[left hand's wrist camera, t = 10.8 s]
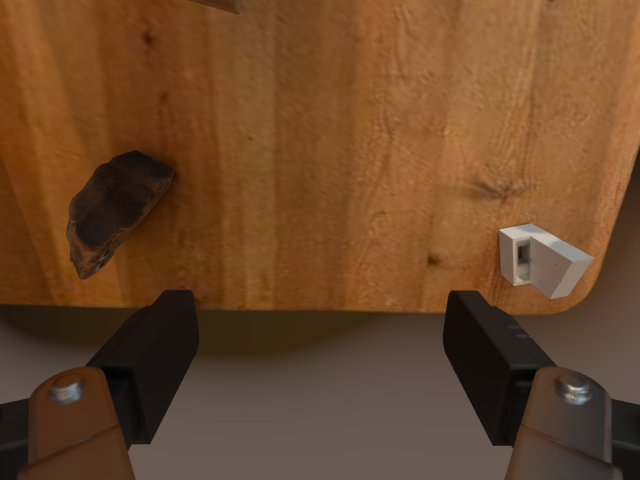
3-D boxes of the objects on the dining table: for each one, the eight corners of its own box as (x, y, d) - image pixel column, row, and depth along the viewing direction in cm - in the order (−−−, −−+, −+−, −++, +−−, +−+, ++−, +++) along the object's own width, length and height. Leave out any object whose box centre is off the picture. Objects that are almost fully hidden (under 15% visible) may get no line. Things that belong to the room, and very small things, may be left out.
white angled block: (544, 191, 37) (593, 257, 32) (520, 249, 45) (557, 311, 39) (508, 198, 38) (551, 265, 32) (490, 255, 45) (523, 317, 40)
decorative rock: (132, 252, 42) (73, 297, 32) (85, 220, 41) (8, 257, 31) (187, 174, 39) (142, 198, 29) (139, 137, 38) (73, 148, 28)
